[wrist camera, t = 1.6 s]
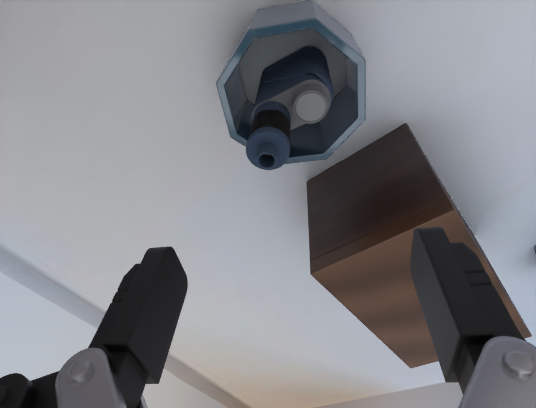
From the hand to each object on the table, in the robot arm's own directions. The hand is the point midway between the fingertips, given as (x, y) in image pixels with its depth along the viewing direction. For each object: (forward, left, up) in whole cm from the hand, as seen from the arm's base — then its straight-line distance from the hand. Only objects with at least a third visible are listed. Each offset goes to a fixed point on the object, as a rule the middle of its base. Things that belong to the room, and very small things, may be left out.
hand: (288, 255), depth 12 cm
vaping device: (0, 0, -19) cm, 19 cm away
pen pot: (0, 0, -19) cm, 19 cm away
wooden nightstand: (+15, +8, -19) cm, 26 cm away
